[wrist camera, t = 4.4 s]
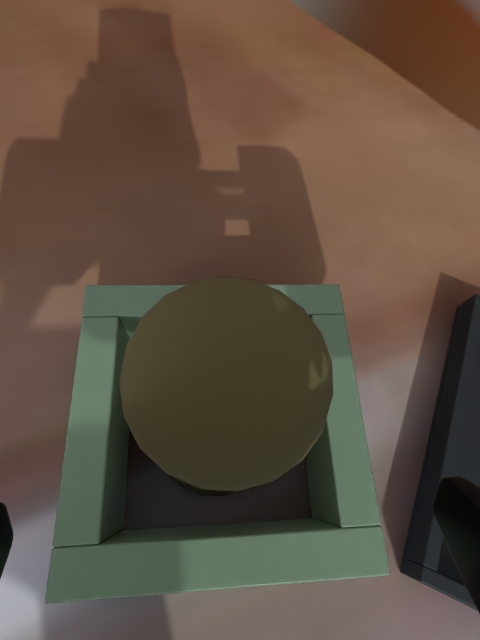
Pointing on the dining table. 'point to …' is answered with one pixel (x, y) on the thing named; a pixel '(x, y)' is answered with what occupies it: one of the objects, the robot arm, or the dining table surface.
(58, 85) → the dining table surface
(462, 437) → the tray
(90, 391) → the caddy
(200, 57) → the dining table surface
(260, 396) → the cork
